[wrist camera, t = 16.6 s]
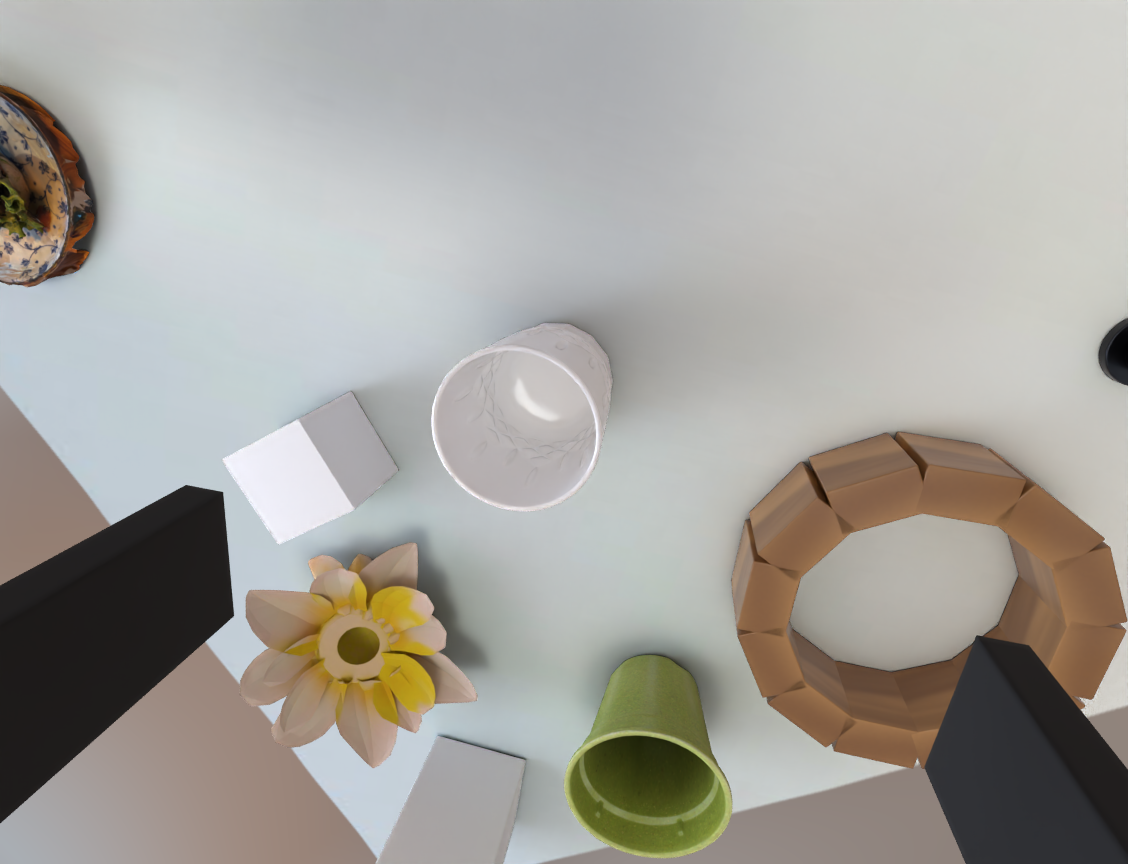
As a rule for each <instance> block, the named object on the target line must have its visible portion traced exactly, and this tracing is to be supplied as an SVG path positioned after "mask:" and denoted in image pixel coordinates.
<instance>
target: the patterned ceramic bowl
mask: <svg viewBox="0 0 1128 864" xmlns="http://www.w3.org/2000/svg"><path fill="white" fill-rule="evenodd" d="M53 122H55V120H54V119H53V118H52V117H51V116H50V115H49V114H48V113H47V112H46V111H45V110H44V109H43V108H42V107H41V106H39V105H38V104H37V103H35V102H34V101H32V100H31V99H30V98H28V97H27V96H26V95H24V94H22V93H19V92H17V91H15V90H13V89H11V88H9V87H6V86H2V85H0V282H2V283H5V284H8V285H12V284H15V285H23V286H25V287H31V286H36V285H38V284H39V283H41V282H43V281H45V280H47V279H49V278H52V277H56V276H61V275H66V274H70V273H74V272H76V271H78V270H79V268H80V267H79V265H80V264H82V263H83V261H84V260H85V259H86V258H87V256H88V254H89V252H88V251H86V250H80V249H79V250H75V249H72V247H73V245H74V244H75V242H76V241H78V240H80V239H81V238H83V237H84V236H85V235H86V234H87V233H88V232H89V230H90V229H91V227H92V223H93V222H94V214H93V213H92V212H90V209H91V205H92V204H93V201H92V200H91V199H90V198H89V197H88V196H87V194H85V189H84V184H85V181H84V180H83V179H81V178H80V177H79V175H78V169H77V167H76V165H75V164H76V163H77V162H78V160H79V155H78V154H77V153H76V152H75V150H74V149H73V146H72V144H71V141H70V140H69V139H68V138H67V137H66V136H65V135H64V134H63V133H62V132H60V131H59V130H58V129H56V128H55V127H54V126H53Z"/></svg>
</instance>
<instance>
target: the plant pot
mask: <svg viewBox="0 0 1128 864" xmlns="http://www.w3.org/2000/svg"><path fill="white" fill-rule="evenodd" d="M564 790H565V794H566V799H567V802H568V805H569V807H570V809H571V811H572V812H573V814H574V816H575V817H576V819H577V820H578V822H579V823H580V824H581V825H582V826H583V827H584V828H585V829H586V830H587V831H588V832H590V833H591V834H592V835H593V836H594V837H596V838H597V839H599V840H600V841H602V842H603V843H605V844H607V845H609V846H611V847H613V848H615V849H617V850H621V851H623V852H626V853H630V854H633V855H637V856H642V857H653V858H675V857H680V856H685V855H688V854H691V853H694V852H697V851H699V850H701V849H703V848H705V847H707V846H708V845H709V844H711V843H713V842H714V841H716V840H717V838H719V837H720V835H721V834H722V833H723V832H724V830H725V829H726V827H727V825H728V823H729V821H730V818H731V814H732V795H731V790H730V787H729V784H728V781H727V779H726V777H725V775H724V773H723V772H722V770H721V769H720V767H719V766H718V763H717V761H716V759H715V757H714V755H713V754H712V751H711V747H710V742H709V738H708V734H707V729H706V725H705V720H704V716H703V711H702V706H701V701H700V697H699V693H698V688H697V685H696V682H695V680H694V678H693V677H692V675H691V674H690V673H689V672H688V671H686V670H684V669H683V668H681V667H680V666H678V665H677V664H676V663H674V662H673V661H672V660H671V659H669V658H666V657H662V656H657V655H641V656H636V657H632V658H630V659H627V660H626V661H624V662H623V663H622V664H621V665H620V666H619V667H618V668H617V669H616V670H615V671H614V673H613V674H612V675H611V678H610V680H609V683H608V686H607V689H606V691H605V694H604V697H603V700H602V702H601V705H600V708H599V711H598V713H597V716H596V719H595V722H594V724H593V727H592V730H591V733H590V735H589V736H588V737H587V738H586V740H585V741H584V743H583V745H582V746H581V747H580V748H579V749H578V750H577V751H576V752H575V753H574V755H573V756H572V758H571V760H570V762H569V764H568V767H567V770H566V773H565V779H564Z"/></svg>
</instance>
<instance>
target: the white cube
mask: <svg viewBox="0 0 1128 864" xmlns="http://www.w3.org/2000/svg"><path fill="white" fill-rule="evenodd" d="M222 461H223V463H224V464H225V466H226V467H227V469H228V470H229V472H230V473H231V475H232V476H233V478H234V479H235V481H236V482H237V484H238V485H239V487H240V488H241V490H242V491H243V493H244V494H245V496H246V497H247V499H248V500H249V502H250V503H251V505H252V506H253V508H254V509H255V511H256V512H257V514H258V515H259V517H260V518H261V520H262V521H263V523H264V524H265V526H266V527H267V529H268V530H269V532H270V533H271V535H272V536H273V538H274V539H275V541H276V542H277V544H278V545H279V544H281V543H283V542H285V541H288V540H290V539H292V538H294V537H296V536H299V535H301V534H303V533H305V532H307V531H309V530H312V529H314V528H316V527H318V526H320V525H323V524H325V523H327V522H329V521H331V520H334V519H336V518H338V517H340V516H342V515H344V514H347V513H349V512H351V511H353V510H355V509H356V508H357V507H358V506H360V505H361V504H362V503H363V502H364V501H365V500H366V499H367V498H369V497H370V496H371V495H372V494H373V493H374V492H375V491H376V490H378V489H379V488H380V487H381V486H382V485H383V484H384V483H385V482H387V481H388V480H389V479H390V478H391V477H392V476H393V475H394V474H396V473H397V472H398V471H399V469H398V468H397V466H396V465H395V463H394V461H393V460H392V458H391V456H390V455H389V453H388V451H387V450H386V448H385V446H384V445H383V443H382V441H381V440H380V438H379V436H378V435H377V433H376V431H375V430H374V428H373V426H372V425H371V423H370V421H369V420H368V418H367V416H366V415H365V413H364V411H363V410H362V408H361V407H360V405H359V403H358V402H357V400H356V398H355V397H354V395H353V393H352V392H351V391H350V392H348V393H346V394H344V395H343V396H341V397H339V398H337V399H335V400H333V401H331V402H329V403H327V404H325V405H324V406H322V407H320V408H318V409H316V410H314V411H312V412H310V413H308V414H306V415H305V416H303V417H301V418H299V419H297V420H295V421H293V422H291V423H289V424H288V425H286V426H284V427H282V428H280V429H278V430H276V431H274V432H273V433H271V434H269V435H267V436H265V437H263V438H261V439H259V440H258V441H256V442H254V443H252V444H250V445H248V446H246V447H244V448H243V449H241V450H239V451H237V452H235V453H233V454H231V455H229V456H228V457H226V458H224V459H222Z"/></svg>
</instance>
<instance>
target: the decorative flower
mask: <svg viewBox="0 0 1128 864" xmlns="http://www.w3.org/2000/svg"><path fill="white" fill-rule="evenodd" d="M308 564H309V567H310V569H311V572H312V574H313V577H314V579H315V580H314V581H313V582H312V585H311V588H310V593H307V592H294V591H281V590H250V591H249V592H248V594H247V596H246V618H247V620H248V623H249V625H250V627H251V629H252V631H253V632H254V633H255V635H256V636H257V637H258V638H259V639H260V640H261V641H262V642H263V643H264V644H265V645H266V646H267V647H269V649H267V650H265V651H264V652H262V653H261V654H260V655H259V656H257V657H256V658H255V659H254V660H253V661H252V663H251V664H250V665H249V666H248V667H247V669H246V670H245V672H244V674H243V676H242V678H241V680H240V696H241V697H242V698H243V699H244V700H245V701H246V702H247V703H248V704H249V705H250V706H260V705H270V704H272V703H274V702H276V701H278V700H280V699H282V698H284V697H285V696H287V697H286V699H285V701H284V704H283V706H282V710H281V713H280V715H279V717H278V718H277V720H276V722H275V723H274V725H273V727H272V729H271V732H272V735H273V737H274V739H275V742H276V743H278V744H280V745H282V746H285V747H287V748H291V747H300V746H302V745H305V744H308V743H310V742H313V741H314V740H316V739H318V738H319V737H321V736H323V735H324V734H325V733H326V732H327V731H328V729H329V728H330V727H331V726H332V725H333V724H334V723H335V721H336V724H337V727H338V729H339V732H340V735H341V736H342V737H343V738H344V739H345V740H346V742H347V743H348V744H349V745H350V746H351V747H352V748H353V749H354V750H355V752H356V753H357V754H358V755H359V756H360V757H361V758H362V759H363V760H364V761H365V762H366V763H367V764H369V765H370V766H371V767H372V768H375V767H377V766H379V765H380V764H381V763H382V762H384V761H385V760H386V759H387V758H388V757H389V756H390V755H391V752H392V750H393V747H394V745H395V742H396V736H397V728H398V726H400V727H402V728H404V729H406V730H408V731H411V732H414V733H416V732H417V731H418V730H419V727H420V724H421V722H422V718H421V714H425V713H426V712H427V711H429V710H430V709H432V708H433V707H434V704H440V703H462V702H472V701H477V697H478V696H477V693H476V691H475V689H474V687H473V685H472V683H471V682H470V681H469V679H468V678H467V677H466V676H465V674H464V673H463V672H462V671H461V670H460V669H459V668H458V667H457V666H456V665H455V664H454V663H453V662H452V661H451V660H450V659H449V658H448V657H446V656H445V655H443V654H441V653H440V652H439V651H440V650H442V649H443V648H445V645H446V636H447V632H446V631H445V629H444V628H443V626H442V624H441V623H440V622H439V621H438V620H437V619H436V618H435V617H434V616H433V615H432V613H433V610H434V606H433V604H432V603H431V601H430V599H429V598H428V596H427V594H424V593H422V592H420V591H417V575H418V550H417V543H407V544H404V545H400V546H397V547H394V548H391V549H390V550H388V551H386V552H385V553H383V554H381V555H380V556H378V557H377V558H375V559H374V560H373V561H372V560H371V558H370V557H368V556H366V555H363V554H358V555H357V556H356V557H355V559H354V560H353V562H352V564H351V565H350V567H349V569H348V570H345V569H344V567H343V565H342V564H341V563H340V562H339V561H337V560H336V559H334V558H333V557H331V556H326V555H320V556H317V557H315V558H312V559H310V560H309V561H308Z"/></svg>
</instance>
